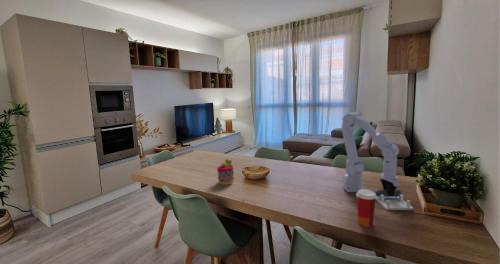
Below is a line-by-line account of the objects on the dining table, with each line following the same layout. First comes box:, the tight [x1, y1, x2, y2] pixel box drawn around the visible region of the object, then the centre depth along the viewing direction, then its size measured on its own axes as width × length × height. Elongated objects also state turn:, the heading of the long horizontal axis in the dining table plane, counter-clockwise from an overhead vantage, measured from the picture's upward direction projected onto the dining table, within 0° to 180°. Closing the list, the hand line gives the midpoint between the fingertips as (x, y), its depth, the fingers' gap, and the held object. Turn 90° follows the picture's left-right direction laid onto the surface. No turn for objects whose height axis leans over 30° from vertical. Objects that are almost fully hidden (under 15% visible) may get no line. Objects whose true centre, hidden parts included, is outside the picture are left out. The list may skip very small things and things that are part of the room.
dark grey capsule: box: [376, 188, 402, 197], centre depth 121 cm, size 12×4×4 cm, turn 85°
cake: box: [217, 158, 235, 186], centre depth 155 cm, size 10×11×15 cm
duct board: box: [374, 189, 414, 211], centre depth 118 cm, size 12×15×4 cm
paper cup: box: [355, 188, 377, 228], centre depth 101 cm, size 8×8×14 cm
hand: (388, 194), depth 121 cm, fingers closed on dark grey capsule, 3 cm apart
